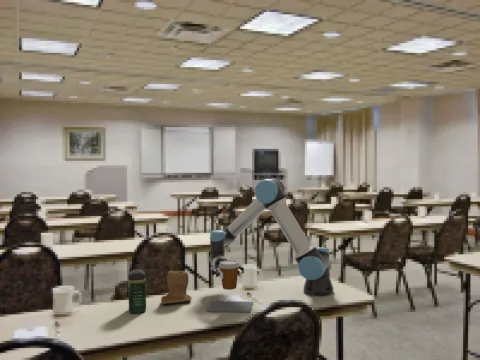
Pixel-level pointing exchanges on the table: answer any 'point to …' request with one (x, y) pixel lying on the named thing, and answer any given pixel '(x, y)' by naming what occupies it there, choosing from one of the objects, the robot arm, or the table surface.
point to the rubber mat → (230, 306)
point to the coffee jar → (137, 291)
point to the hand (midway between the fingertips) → (231, 275)
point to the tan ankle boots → (176, 287)
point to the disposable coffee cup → (229, 274)
